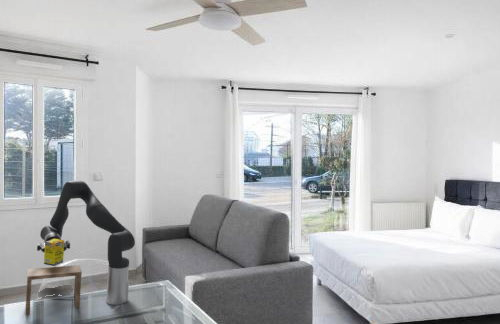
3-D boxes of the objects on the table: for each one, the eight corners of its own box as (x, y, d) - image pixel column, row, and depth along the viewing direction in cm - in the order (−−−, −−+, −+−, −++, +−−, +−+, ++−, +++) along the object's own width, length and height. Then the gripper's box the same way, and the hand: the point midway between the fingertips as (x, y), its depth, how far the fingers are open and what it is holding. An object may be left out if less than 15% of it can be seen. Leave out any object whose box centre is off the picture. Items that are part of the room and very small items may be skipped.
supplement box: (54, 266, 175) (55, 243, 175) (43, 264, 177) (44, 241, 176) (63, 262, 181) (64, 240, 180) (53, 260, 183) (54, 238, 182)
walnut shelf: (77, 299, 180) (79, 265, 179) (79, 307, 171) (81, 271, 170) (25, 305, 169) (27, 269, 168) (25, 314, 160) (27, 276, 160)
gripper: (37, 234, 189) (37, 242, 175) (68, 233, 196) (71, 240, 182) (36, 249, 189) (36, 258, 175) (67, 247, 196) (70, 256, 182)
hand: (54, 249), depth 179 cm, fingers closed on supplement box, 8 cm apart
